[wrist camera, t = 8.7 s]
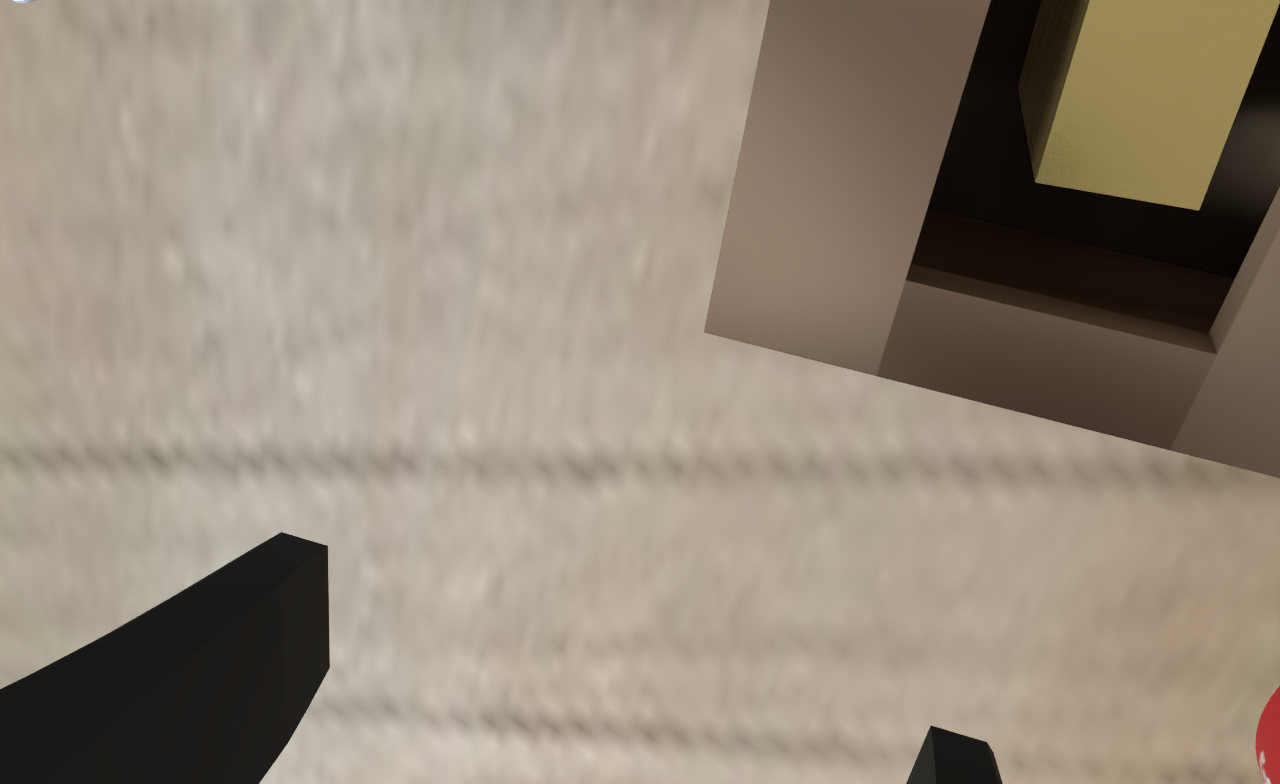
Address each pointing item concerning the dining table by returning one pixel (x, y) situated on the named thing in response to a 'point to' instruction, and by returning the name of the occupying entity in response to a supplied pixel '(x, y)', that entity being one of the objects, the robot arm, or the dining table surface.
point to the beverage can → (1269, 740)
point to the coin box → (968, 254)
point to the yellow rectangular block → (1138, 92)
